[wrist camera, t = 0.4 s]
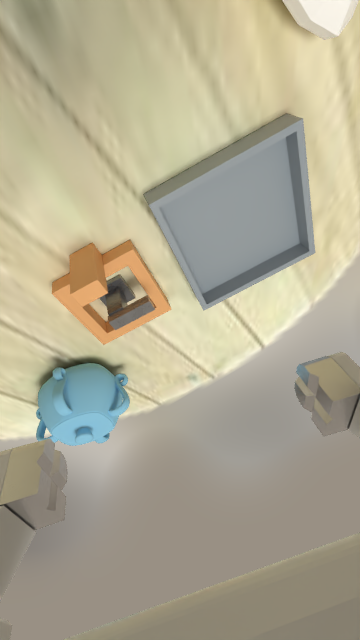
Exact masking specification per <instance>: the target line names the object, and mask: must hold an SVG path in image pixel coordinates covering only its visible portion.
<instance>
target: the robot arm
mask: <svg viewBox="0 0 360 640" xmlns="http://www.w3.org/2000/svg"><path fill="white" fill-rule="evenodd" d="M296 372H297V374H298V375H299V377H298V379H297V380H296V381H295V392H296V396H297V398H298V399H299V402H300V403H301V405H302V406H303V408H305V409H307V410H309V411H310V412H312V421H313V422H314V423H315V425H316V426H317V428H318V429H319V430H320V432H321V433H322V435H323V436H327V435H331V434H334V433H337V432H341V431H345V430H348V429H349V430H348V431H349V432H351V433H353V434H354V435H356V436H357V437H359V438H360V367H359V366H358V365H357V364H356V363H355V362H354V361H353V360H352V359H351V358H350V357H349V356H348V355H347V354H345V353H343V352H340V353H336V354H333V355H330V356H327V357H326V356H325V357H322V358H318V359H315V360H312V361H309V362H305V363H302V364H300V365H298V367H297V371H296ZM54 447H55V443H54V442H53V441H52V440H51V439H50V438H49V439H46V440H42V441H38V442H35V443H31V444H27V445H24V446H20V447H16V448H12V449H9V450H5V451H2V452H0V601H1V599H2V597H3V595H4V593H5V591H6V589H7V587H8V585H9V583H10V581H11V579H12V577H13V575H14V573H15V572H16V570H17V568H18V566H19V564H20V562H21V560H22V558H23V556H24V554H25V552H26V550H27V548H28V546H29V545H30V543H31V540H32V539H33V537H34V535H35V532H36V531H35V530H37V529H40V528H43V527H46V526H49V525H52V524H55V523H57V522H60V521H63V520H64V519H65V505H66V496H65V494H64V493H63V492H62V491H61V490H62V489H63V487H64V485H65V484H66V482H67V465H66V461H65V458H64V456H63V454H62V453H61V452H60V451H57V450H54ZM11 629H12V625H11V624H10V622H9V621H8V620H5V619H2V618H0V640H10V636H11ZM64 640H360V533H357V534H355V535H352V536H349V537H346V538H343V539H341V540H338V541H335V542H332V543H330V544H327V545H324V546H321V547H319V548H316V549H313V550H310V551H307V552H305V553H302V554H299V555H296V556H294V557H291V558H288V559H285V560H283V561H280V562H277V563H274V564H271V565H269V566H266V567H263V568H260V569H258V570H255V571H252V572H249V573H247V574H244V575H241V576H238V577H235V578H233V579H230V580H227V581H224V582H222V583H219V584H216V585H213V586H211V587H208V588H205V589H202V590H199V591H197V592H194V593H191V594H188V595H186V596H183V597H180V598H177V599H175V600H172V601H169V602H166V603H164V604H161V605H158V606H155V607H152V608H150V609H147V610H144V611H141V612H139V613H136V614H133V615H130V616H128V617H125V618H122V619H119V620H116V621H114V622H111V623H108V624H105V625H103V626H100V627H97V628H94V629H92V630H89V631H86V632H83V633H80V634H78V635H75V636H72V637H69V638H67V639H64Z"/></svg>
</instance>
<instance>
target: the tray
mask: <svg viewBox="0 0 360 640" xmlns="http://www.w3.org/2000/svg"><path fill="white" fill-rule="evenodd" d="M143 195H144V197H145V199H146V201H147V203H148V205H149V206H150V208H151V210H152V212H153V214H154V216H155V218H156V220H157V222H158V224H159V226H160V228H161V230H162V231H163V233H164V235H165V237H166V239H167V241H168V243H169V245H170V247H171V249H172V251H173V253H174V255H175V256H176V258H177V260H178V262H179V264H180V266H181V268H182V270H183V272H184V274H185V276H186V278H187V280H188V281H189V283H190V285H191V287H192V289H193V291H194V293H195V295H196V297H197V299H198V301H199V303H200V305H201V306H202V308H203V310H206V309H208V308H210V307H212V306H214V305H215V304H217V303H219V302H221V301H223V300H225V299H227V298H229V297H231V296H233V295H235V294H237V293H239V292H241V291H243V290H244V289H246V288H248V287H250V286H252V285H254V284H256V283H258V282H260V281H262V280H264V279H266V278H268V277H270V276H271V275H273V274H275V273H277V272H279V271H281V270H283V269H285V268H287V267H289V266H291V265H293V264H295V263H297V262H299V261H300V260H302V259H304V258H306V257H308V256H310V255H312V254H314V253H315V245H314V234H313V223H312V212H311V201H310V190H309V179H308V168H307V157H306V146H305V135H304V124H303V118H299V117H296V116H293V115H290V114H285V115H283V116H281V117H279V118H277V119H276V120H274V121H272V122H270V123H269V124H267V125H265V126H263V127H262V128H260V129H258V130H256V131H254V132H253V133H251V134H249V135H247V136H246V137H244V138H242V139H240V140H239V141H237V142H235V143H233V144H231V145H230V146H228V147H226V148H224V149H223V150H221V151H219V152H217V153H216V154H214V155H212V156H210V157H208V158H207V159H205V160H203V161H201V162H200V163H198V164H196V165H194V166H193V167H191V168H189V169H187V170H185V171H184V172H182V173H180V174H178V175H177V176H175V177H173V178H171V179H170V180H168V181H166V182H164V183H162V184H161V185H159V186H157V187H155V188H154V189H152V190H150V191H148V192H147V193H145V194H143Z"/></svg>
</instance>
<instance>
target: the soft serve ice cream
mask: <svg viewBox="0 0 360 640" xmlns="http://www.w3.org/2000/svg"><path fill="white" fill-rule="evenodd" d="M282 1H283V3H284V4H285V6H286V7H287V9H288V10H289V12H290V13H291V15H292V16H293V18H294V19H295V21H296V22H297V24H298V25H299V26H301V27H303V28H305V29H306V30H308V31H310V32H311V33H313V34H315V35H317V36H318V37H320V38H322V39H324V40H326V39H330V38H333V37H337V36H339V34H340V33H341V32H342V30H343V29H344V28H345V26H346V25H347V24H348V22H349V21H350V20H351V18H352V17H353V14H354V11H355V9H356V6H357V3H358V1H359V0H282Z"/></svg>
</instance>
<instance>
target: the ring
mask: <svg viewBox="0 0 360 640" xmlns="http://www.w3.org/2000/svg"><path fill="white" fill-rule="evenodd" d="M126 266H129V268H130V269H131V271H132V272H133V274H134V275H135V276H136V278H137V279H138V281H139V282H140V284H141V285H142V287H143V288H144V290H145V291H146V293H147V294H148V295H149V297H150V298H151V299H150V300H151V301H152V303H153V305H154V308H155V310H153V311H152V312H150V313H148V314H146V315H144V316H142V317H140V318H138V319H136V320H134V321H133V322H131V323H129V324H127V325H125V326H123V327H121V328H119V329H117V330H115V329H114V328H113V327H112V326H111V325H110V324H109V322H105V321H104V320H103V319H102V318H101V317H100V316H99V315H98V314H97V312H96V311H95V310H94V309H93V308H92V307H91V306H90V305H89V303H90V302H92V301H94V300H96V299H98V298H100V297H102V296H103V295H105V294H107V293H108V288H107V283H106V277H108V276H110V275H112V274H113V273H115V272H117V271H119V270H121V269H123V268H124V267H126ZM52 294H53V295H54V296H55V297H56V298H57V299H58V300H59V301H60V302H61V303H62V304H63V305H64V306H65V307H66V308H67V309H68V310H69V311H70V312H71V313H72V314H73V315H74V316H75V317H76V318H77V319H78V320H79V321H80V322H81V323H82V324H83V325H84V326H85V327H86V328H87V329H88V330H89V331H90V332H91V333H92V334H93V335H94V336H95V337H96V338H97V339H98V340H99V341H100V342H101V343H102V344H103V345H104V344H106V343H108V342H110V341H112V340H114V339H116V338H118V337H120V336H122V335H124V334H125V333H127V332H129V331H131V330H133V329H135V328H137V327H139V326H141V325H143V324H145V323H147V322H148V321H150V320H152V319H154V318H156V317H158V316H160V315H162V314H164V313H166V312H168V311H169V310H171V307H170V305H169V302H168V300H167V298H166V296H165V295H164V293H163V292H162V290H161V288H160V287H159V285H158V284H157V282H156V280H155V279H154V277H153V276H152V274H151V272H150V271H149V269H148V268H147V266H146V264H145V263H144V261H143V260H142V258H141V256H140V255H139V253H138V252H137V250H136V248H135V247H134V245H133V244H132V242H131V241H130V240H128V241H127V242H125V243H123V244H121V245H119V246H118V247H116V248H114V249H112V250H110V251H109V252H107V253H105V254H103V255H101V253H100V252H99V251H98V249H97V248H96V247H95V245H94V244H93V243H91V244H89V245H87V246H85V247H83V248H82V249H80V250H78V251H76V252H75V253H73V254H71V255H70V273H69V274H67V275H65V276H63V277H62V278H60V279H58V280H56V281H54V282H53V284H52Z"/></svg>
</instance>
